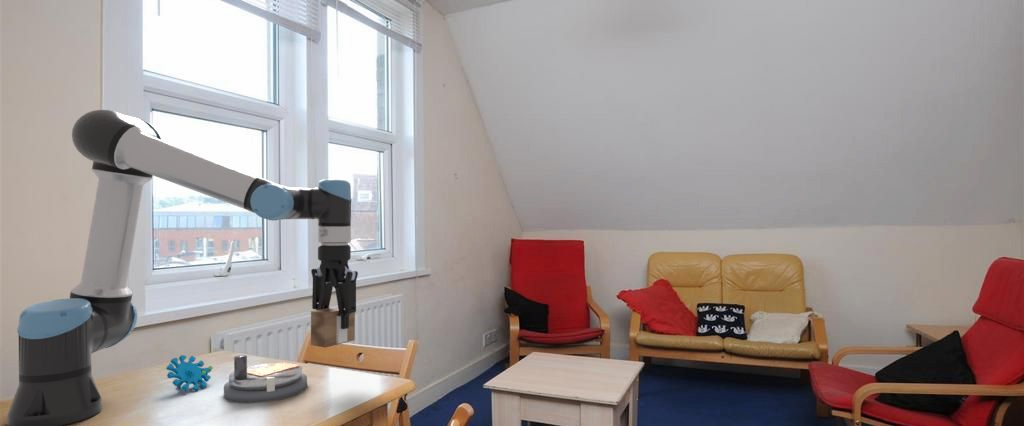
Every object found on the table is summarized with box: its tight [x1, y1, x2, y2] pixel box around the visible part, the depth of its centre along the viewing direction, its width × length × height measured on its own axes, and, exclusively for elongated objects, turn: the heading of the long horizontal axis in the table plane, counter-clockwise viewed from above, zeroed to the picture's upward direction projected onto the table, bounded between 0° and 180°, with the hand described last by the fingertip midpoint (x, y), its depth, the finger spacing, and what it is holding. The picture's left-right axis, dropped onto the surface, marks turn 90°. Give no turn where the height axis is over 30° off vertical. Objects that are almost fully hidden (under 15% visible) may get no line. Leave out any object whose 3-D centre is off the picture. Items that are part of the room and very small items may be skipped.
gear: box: [165, 354, 214, 392], centre depth 136 cm, size 11×6×10 cm
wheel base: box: [223, 372, 308, 404], centre depth 133 cm, size 18×18×5 cm
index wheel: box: [228, 354, 303, 391], centre depth 133 cm, size 16×16×7 cm
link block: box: [310, 305, 356, 348], centre depth 136 cm, size 5×9×8 cm, turn 149°
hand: (333, 340), depth 136 cm, fingers closed on link block, 5 cm apart
